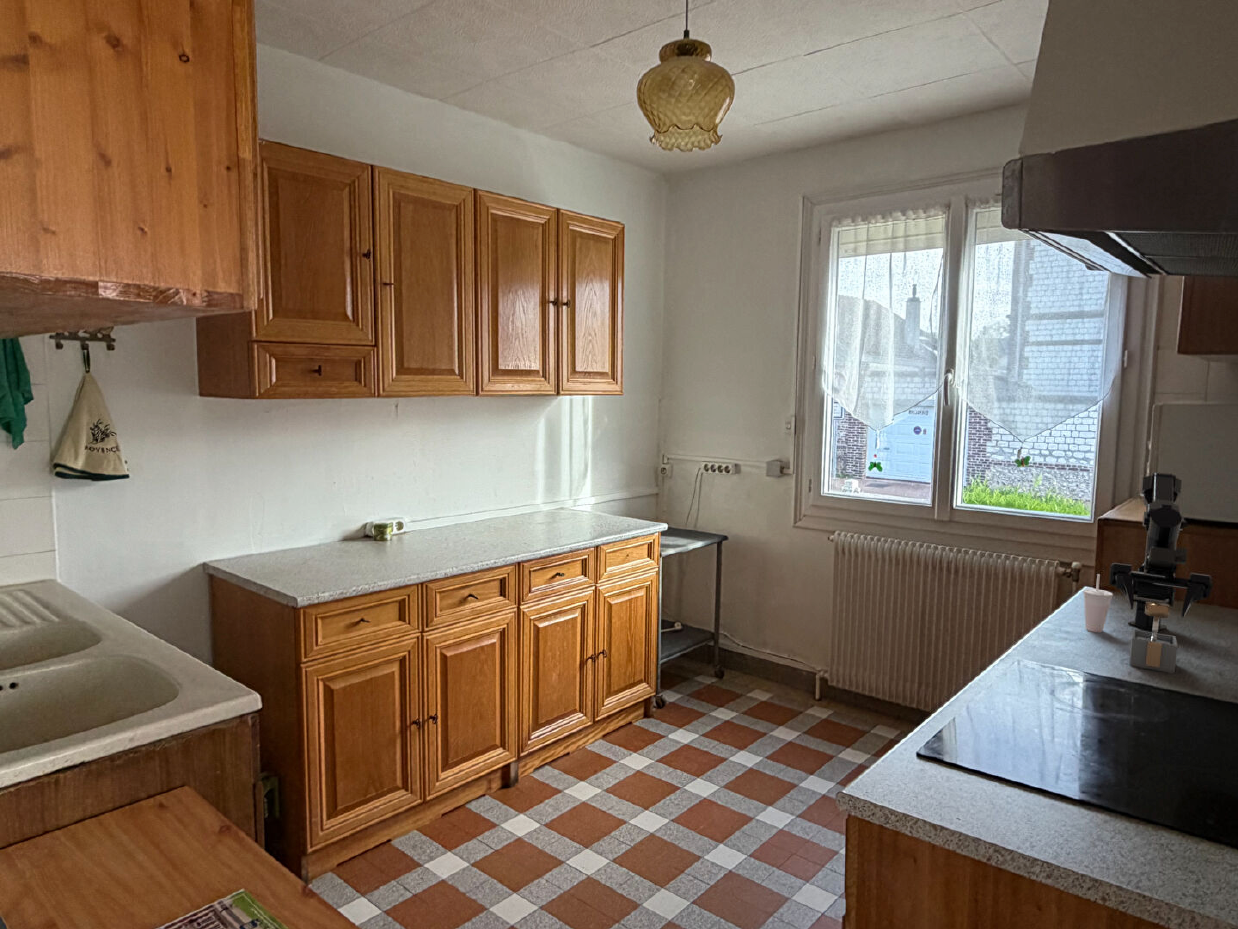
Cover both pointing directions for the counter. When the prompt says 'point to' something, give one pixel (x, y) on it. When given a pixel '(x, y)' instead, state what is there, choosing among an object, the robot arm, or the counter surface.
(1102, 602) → the smoothie
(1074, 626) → the counter surface
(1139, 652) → the grey open box
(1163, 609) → the plunger
